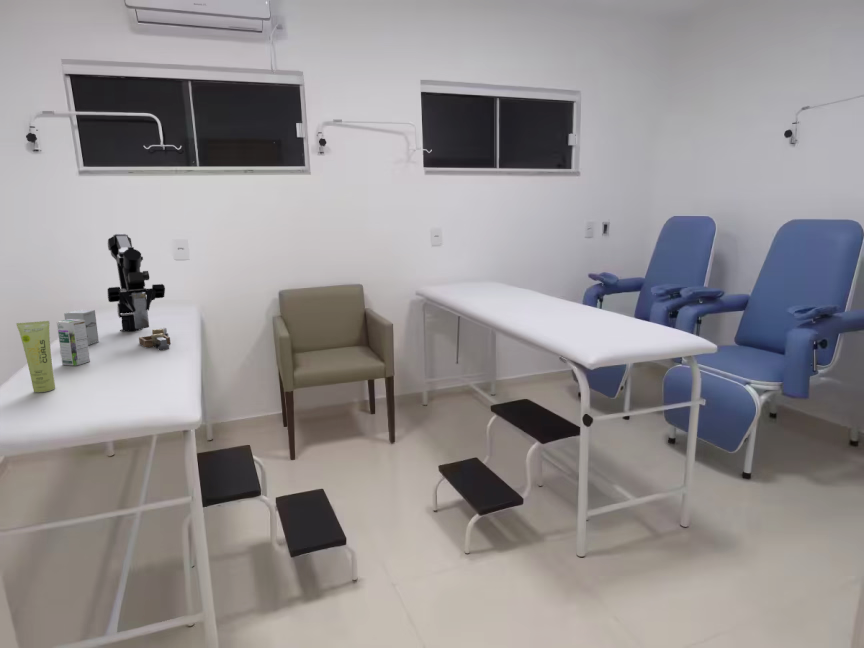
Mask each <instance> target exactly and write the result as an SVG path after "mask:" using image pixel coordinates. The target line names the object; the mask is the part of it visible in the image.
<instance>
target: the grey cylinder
mask: <svg viewBox="0 0 864 648" xmlns="http://www.w3.org/2000/svg"><path fill="white" fill-rule="evenodd" d="M131 295H132V303H133V307H134V321H135V328H136V329H140V330H143V329H148V328H150V322H149V310H148V309H147V301H146V296H147V295H146V292H134V293H131Z"/></svg>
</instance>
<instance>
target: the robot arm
mask: <svg viewBox="0 0 864 648" xmlns="http://www.w3.org/2000/svg"><path fill="white" fill-rule="evenodd" d="M107 248H108V251H110V256H111V257H112V258H113V259H114V260H115V262H116V266H117V272H118V273H117V275H118V278H119V279H118V280H119V285H120V286H114V287H113V286H111V287H108V288H107V299H108V302H109V303H115V302H116V303H117V306H116V307H117V309H116V310H117V316H118V318H119V319H120V318H121V328H122V329H119V332H137V331H140V330H139V329H136V328H135V321H134V307H133V303H132V295H131V293H134V292H146V301H147V311H150V307H151V303H152V301H155V299H162V298H165V294H166V287H165V284H163V283H155V284H154V283H153V284H152V285H151V288H147V287H146V282H145V281H149V280H150V273H149V270H143V271H141V266H142V261H144V257H143V256H142V253H141V252H140V250H137V249H136V248H135V247H133V243H132V238H130V237H129V235H128V234H127V233H115V234H113V236H111V237H109V238H108V239H107ZM145 287H146V288H145ZM136 330H137V331H136Z"/></svg>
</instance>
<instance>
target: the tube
mask: <svg viewBox="0 0 864 648" xmlns="http://www.w3.org/2000/svg"><path fill="white" fill-rule="evenodd" d="M15 324H16V327H17V329H18V330H17V331H18V332H19V335H20V339H21V344H22V346H23V351H24V355H25V358H26V361H27V366H28V370H29V375H30V381H31V384H32V385H31V386H32V390H33V392H34V393H47V392H50V391H53V390H55V388H56V383H55V377H54V370H53V361H52V352H51V340H50V339H51V337H50V320H43V321H30V322H29V321H28V322H16V323H15Z"/></svg>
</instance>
